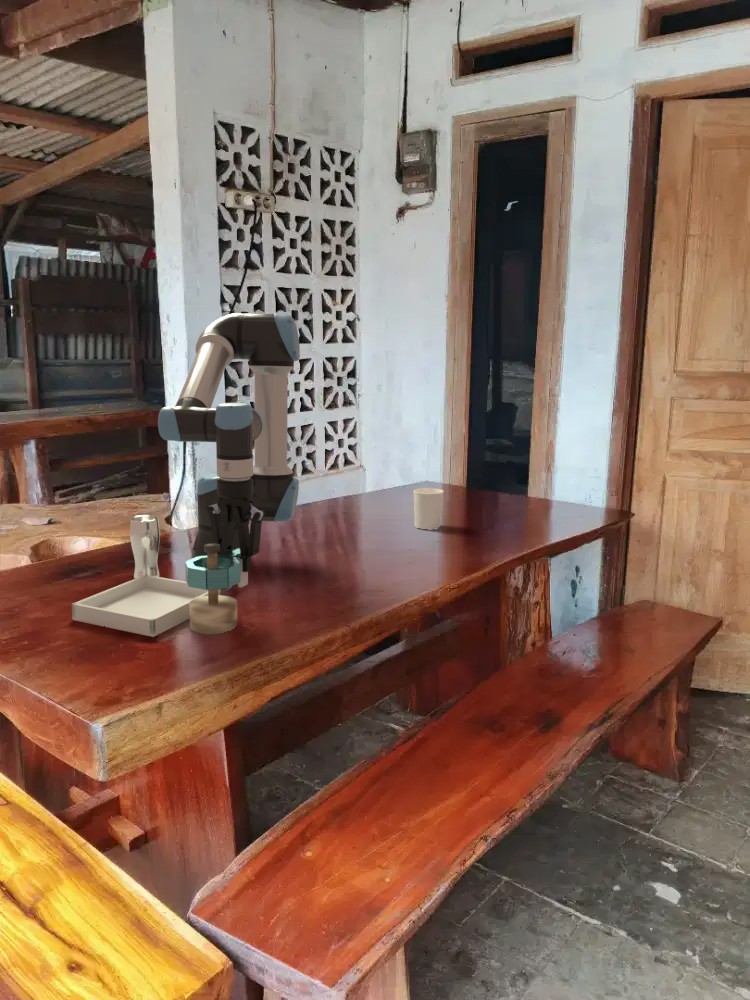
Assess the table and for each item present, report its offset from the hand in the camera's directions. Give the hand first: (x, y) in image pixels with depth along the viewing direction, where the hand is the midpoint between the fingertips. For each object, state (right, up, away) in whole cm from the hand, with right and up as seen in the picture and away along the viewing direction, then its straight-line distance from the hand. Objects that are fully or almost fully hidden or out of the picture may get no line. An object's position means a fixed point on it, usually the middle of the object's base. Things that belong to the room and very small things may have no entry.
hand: (236, 584), depth 166 cm
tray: (-19, -6, +1) cm, 20 cm away
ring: (-2, +2, -6) cm, 6 cm away
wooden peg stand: (-4, -8, -7) cm, 11 cm away
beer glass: (-27, -1, +25) cm, 36 cm away
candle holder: (+47, +9, +82) cm, 95 cm away
